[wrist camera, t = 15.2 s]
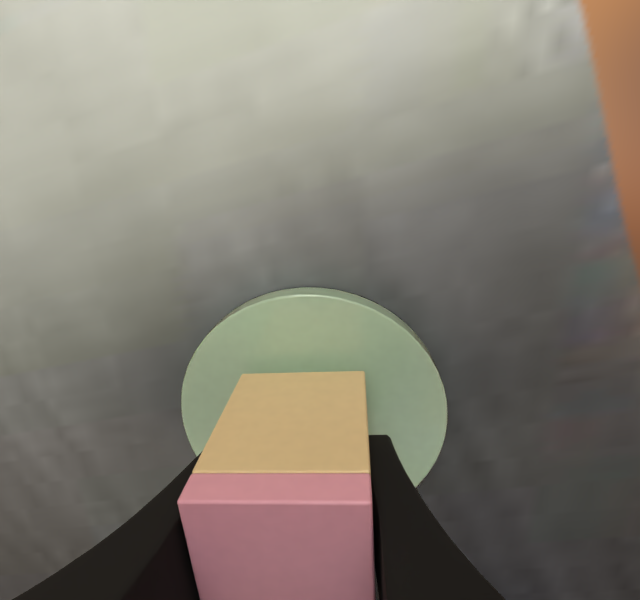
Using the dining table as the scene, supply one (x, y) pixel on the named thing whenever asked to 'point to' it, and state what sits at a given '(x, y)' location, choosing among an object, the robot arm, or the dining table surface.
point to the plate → (324, 365)
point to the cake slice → (284, 492)
